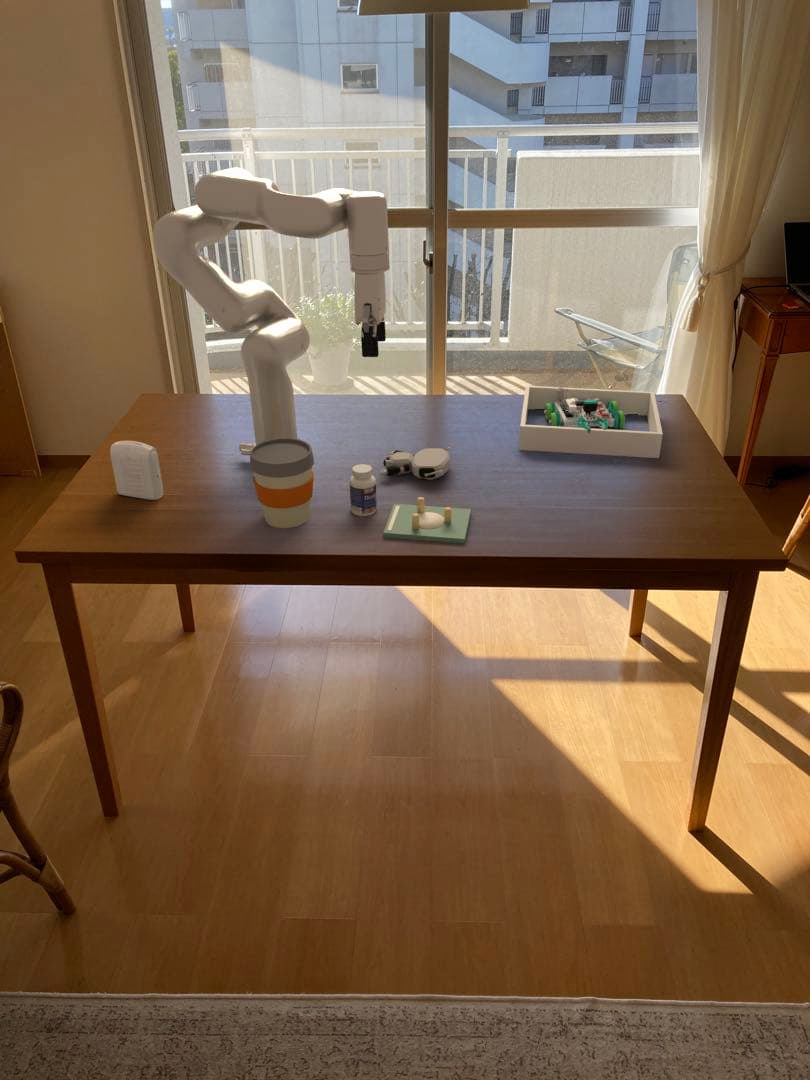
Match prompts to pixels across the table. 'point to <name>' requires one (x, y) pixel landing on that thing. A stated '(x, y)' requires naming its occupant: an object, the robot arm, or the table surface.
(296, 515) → the reusable coffee cup
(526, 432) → the storage frame
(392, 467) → the robot toy
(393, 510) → the board
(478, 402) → the table surface
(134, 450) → the photo printer
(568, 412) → the robot kit
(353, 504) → the pill bottle
